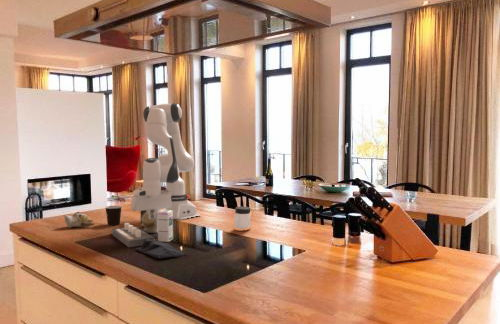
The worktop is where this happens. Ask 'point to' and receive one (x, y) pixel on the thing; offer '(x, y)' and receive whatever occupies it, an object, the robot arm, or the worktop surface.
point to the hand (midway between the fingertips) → (151, 218)
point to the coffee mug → (113, 215)
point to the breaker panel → (130, 237)
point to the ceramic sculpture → (78, 220)
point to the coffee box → (149, 222)
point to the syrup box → (165, 225)
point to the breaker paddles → (132, 230)
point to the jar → (242, 217)
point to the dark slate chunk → (159, 249)
